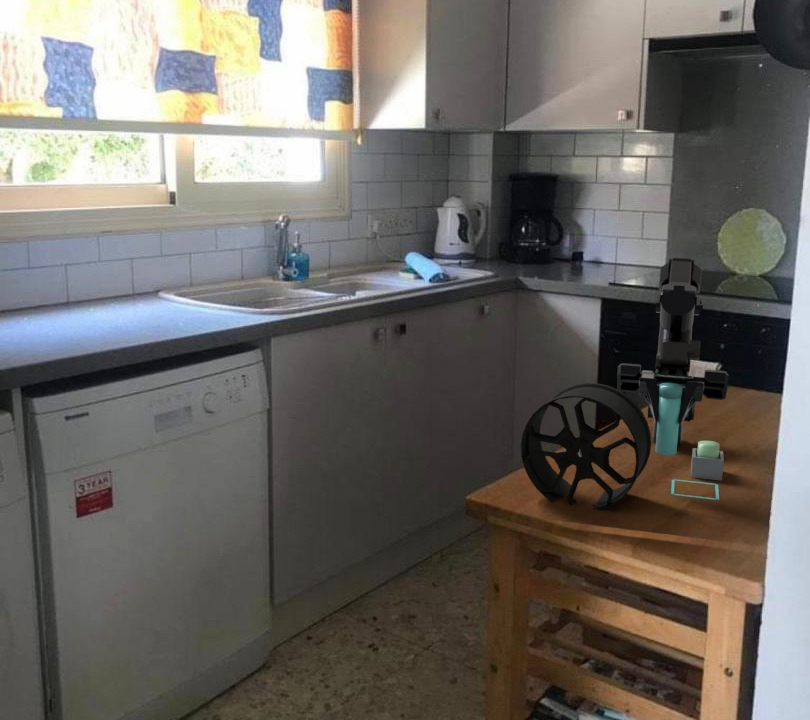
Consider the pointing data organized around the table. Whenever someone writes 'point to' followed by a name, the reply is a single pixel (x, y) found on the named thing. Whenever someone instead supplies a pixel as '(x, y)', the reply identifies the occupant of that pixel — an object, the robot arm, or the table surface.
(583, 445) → the car wheel rim
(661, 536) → the table surface
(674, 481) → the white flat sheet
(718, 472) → the button housing
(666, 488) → the table surface
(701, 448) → the button
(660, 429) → the teal round-topped cylinder
